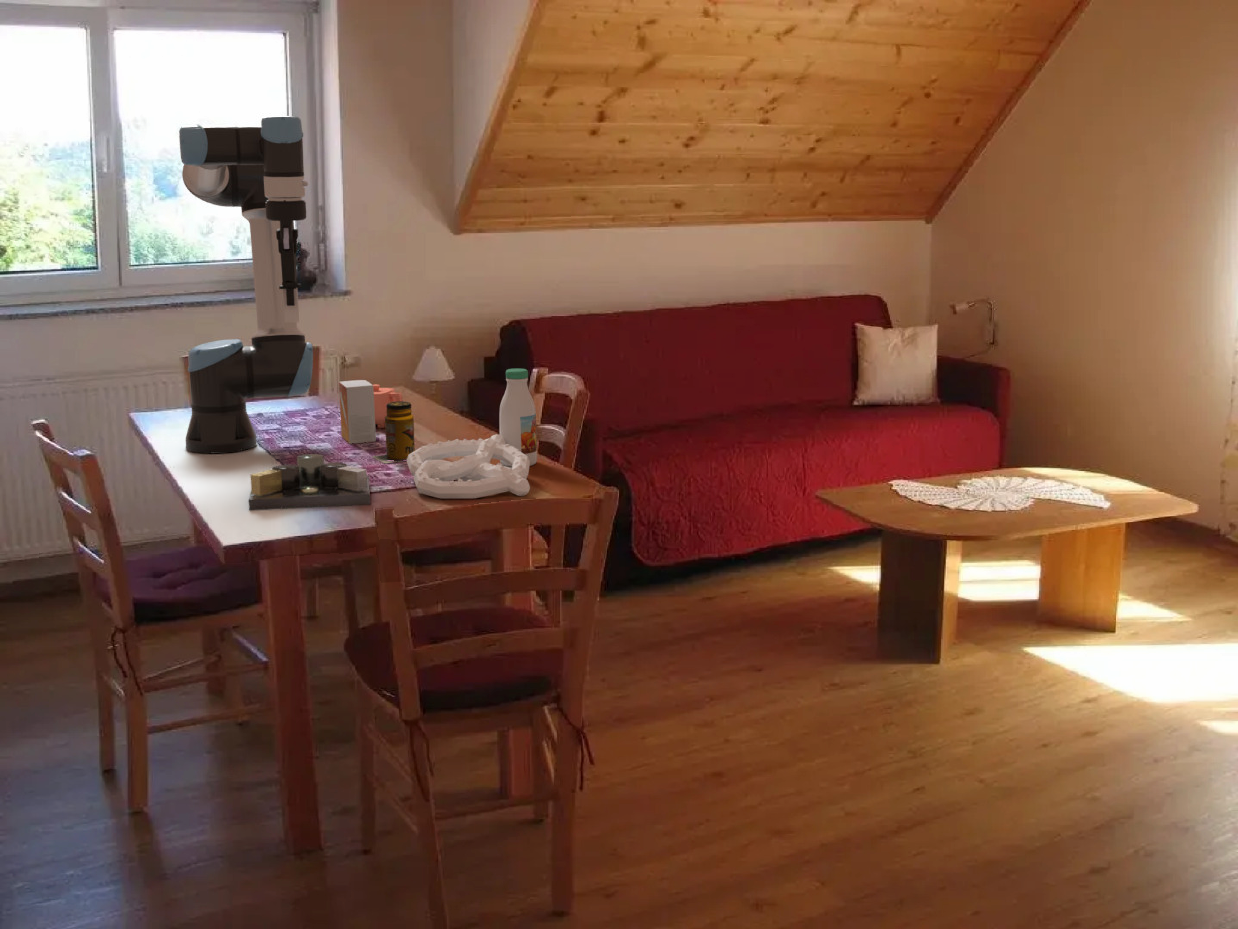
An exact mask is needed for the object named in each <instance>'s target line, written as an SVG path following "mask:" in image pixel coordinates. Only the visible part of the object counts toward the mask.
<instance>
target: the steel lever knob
mask: <svg viewBox="0 0 1238 929" xmlns="http://www.w3.org/2000/svg"><path fill="white" fill-rule="evenodd" d="M320 467H321V485H322V486H323V487H328V488H336V487H339V488H344V489H349V490H354V491H361V490H364V489H367V475H368V474H367V469H364V468H360V467H353V466H349V465H348V464H347V463H345V462H328V463H327V462H326V463H324V464H323V465H321V466H320Z"/></svg>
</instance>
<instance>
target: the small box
mask: <svg viewBox="0 0 1238 929" xmlns="http://www.w3.org/2000/svg"><path fill="white" fill-rule="evenodd" d="M373 385H374V384H372V383H371V382H370V381H367V380H365V379H356V380H344V381H343V380H342V381H338V386H339V387H338V389H339V410H340V432H341V435H340V436H341V437H342V438H343V439H344V440H345V441H346V442H347V443H348V444H350V445H353V444H352V443H354V444H361V443H362V444H363V443H364V442H366V443H374V442H377V436H376V434H377V433H376V432H377V431H376V424H375V410H374V389H373ZM364 444H365V443H364Z"/></svg>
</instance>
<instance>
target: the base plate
mask: <svg viewBox="0 0 1238 929" xmlns="http://www.w3.org/2000/svg"><path fill="white" fill-rule="evenodd" d="M324 461H325V460H324V455H323V454H318V453H310V454H309V453H307V454H300V455H298V456H297V457H296V464H297V466H299V477H300V487H298V488H295V489H290V490H280V491H276V492H272V493H269V494H265V495H261V496H260V495H255V494H252V491H251V490H250V494H249V497H248V509H249V511H254V510H255V511H257V510H277V509H280V510H283V509H299V508H319V507H323V508H324V507H340V506H341V507H343V506H345V507H346V506H361V505H363V506H364V505H366V506H367V505H371V497H370V496H371V494H370V493H371V492H370V475H368V474H367V489H364V490H361V491H354V490H349V489H344V488H339V487H336V488H328V487H323V486H322V485H321V467H320V466H321V465H323V464H325V463H324Z"/></svg>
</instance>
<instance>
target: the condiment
mask: <svg viewBox="0 0 1238 929" xmlns="http://www.w3.org/2000/svg"><path fill="white" fill-rule="evenodd" d="M386 407H387V411H386V413H387V415H386V417H385V430H384V431H385V450H386V452H385V454H382V455H372V456H371V458H373V459H375V460H376V461H379V462H381V463H383V464H385V465H386V464H392V463H399V462H404V461H403V460H407V458H408V455H409V454H411V453H412V452H414V451H416V450H415V447H416V446H415V445H416V444H415V424H414V423H415V422H414V420H415V419H414V415H413V414H412V412H413V410H412V403H411V402H408V401H404V400H403V401H397V402H390V403H388V404H387V406H386ZM387 460H394V461H393V462H392V461H387ZM397 461H398V462H397Z"/></svg>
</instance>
